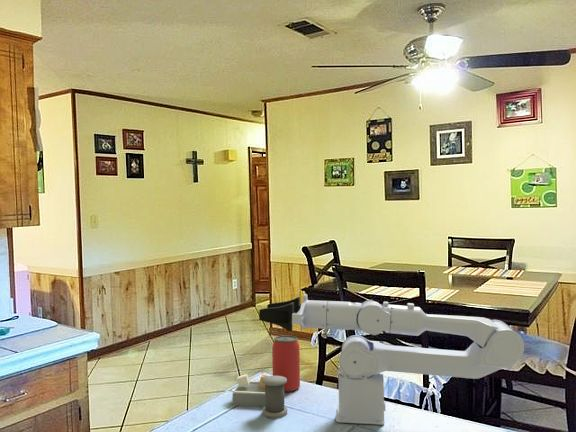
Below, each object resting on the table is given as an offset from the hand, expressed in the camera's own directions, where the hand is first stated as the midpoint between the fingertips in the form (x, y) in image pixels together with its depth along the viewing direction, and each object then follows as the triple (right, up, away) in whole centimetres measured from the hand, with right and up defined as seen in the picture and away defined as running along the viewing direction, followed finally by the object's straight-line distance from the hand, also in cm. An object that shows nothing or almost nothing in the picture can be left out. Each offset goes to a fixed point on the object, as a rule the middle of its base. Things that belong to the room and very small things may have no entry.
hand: (263, 311), depth 105 cm
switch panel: (-2, -21, +7) cm, 22 cm away
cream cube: (-4, -19, +7) cm, 20 cm away
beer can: (+5, -21, +14) cm, 26 cm away
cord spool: (+2, -21, -1) cm, 21 cm away
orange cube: (0, -19, +7) cm, 20 cm away
